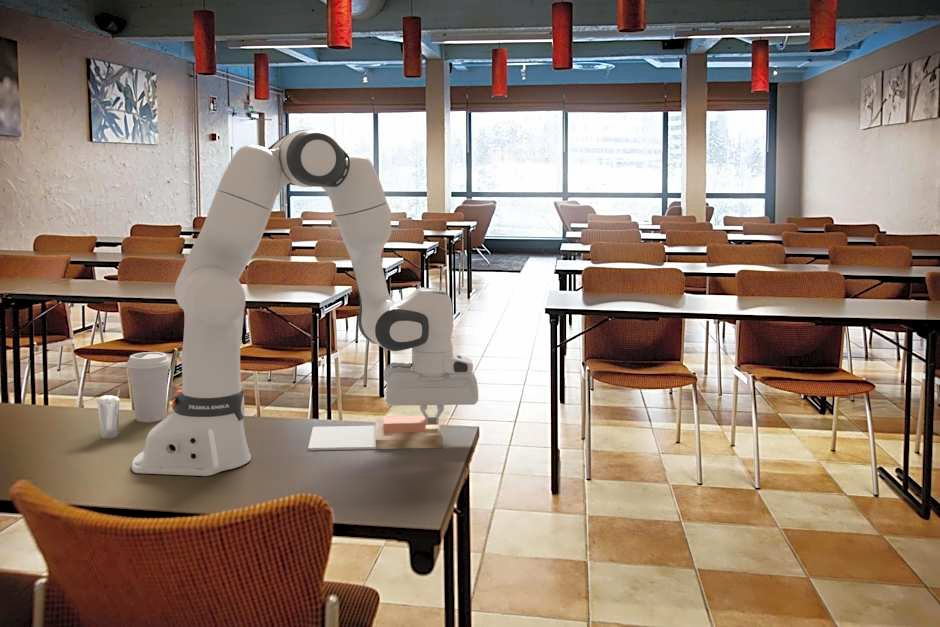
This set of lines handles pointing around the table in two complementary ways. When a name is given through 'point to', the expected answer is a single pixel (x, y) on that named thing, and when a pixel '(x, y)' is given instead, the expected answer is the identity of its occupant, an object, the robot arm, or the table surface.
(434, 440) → the riser
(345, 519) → the table surface
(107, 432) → the milkshake
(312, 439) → the mat
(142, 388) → the coffee cup
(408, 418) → the pink rectangular block
